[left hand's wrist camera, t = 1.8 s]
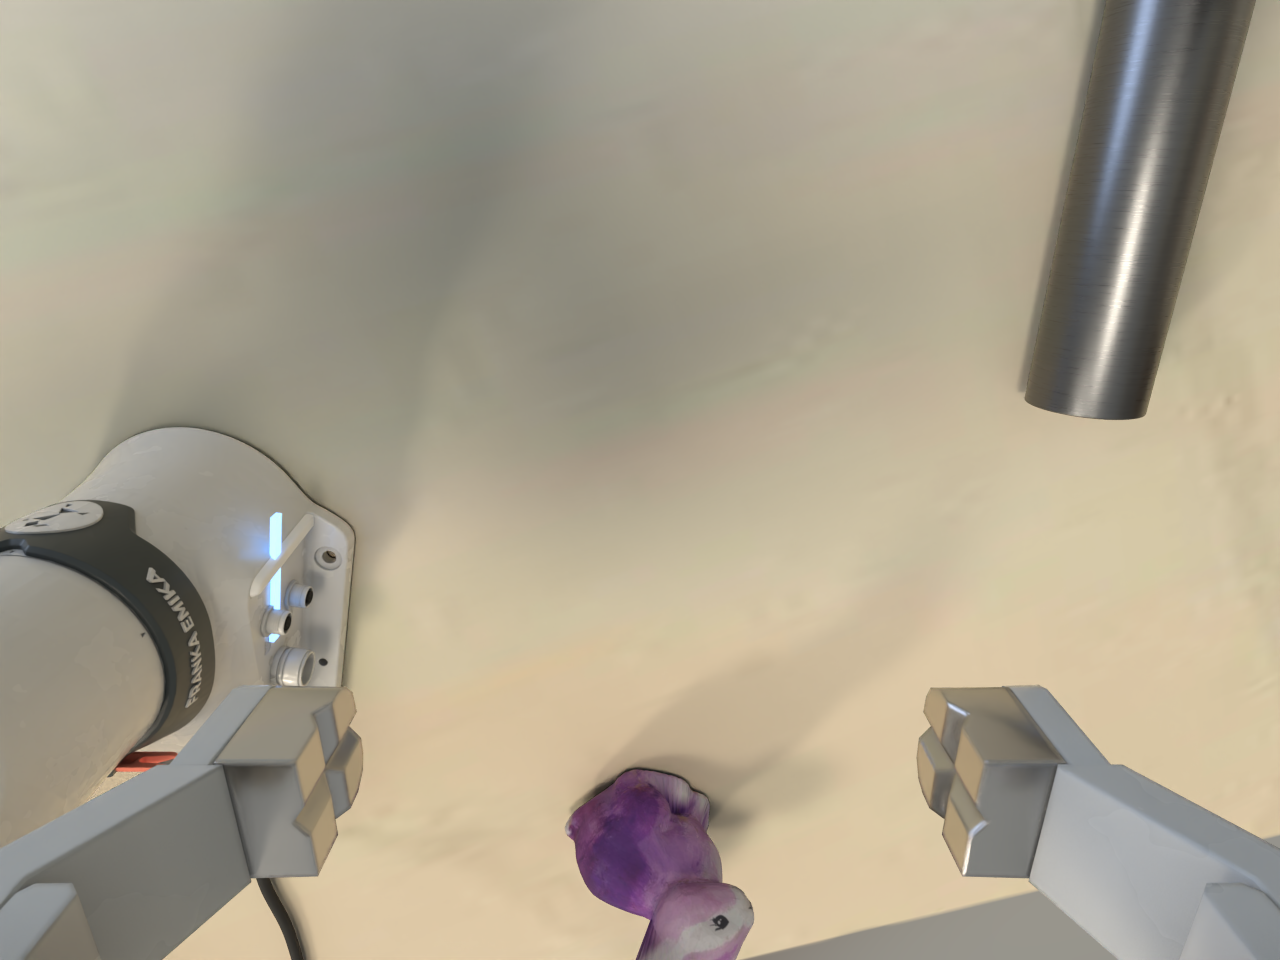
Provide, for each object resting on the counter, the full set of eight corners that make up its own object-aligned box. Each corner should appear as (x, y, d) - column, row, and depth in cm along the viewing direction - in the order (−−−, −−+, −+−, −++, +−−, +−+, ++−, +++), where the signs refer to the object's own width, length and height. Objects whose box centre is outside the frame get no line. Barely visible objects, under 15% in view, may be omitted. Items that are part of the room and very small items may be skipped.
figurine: (744, 806, 55) (785, 1010, 41) (643, 876, 58) (650, 1093, 44) (661, 731, 53) (674, 921, 39) (558, 807, 55) (536, 1014, 41)
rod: (1102, 393, 45) (1171, 420, 39) (1005, 392, 45) (1060, 419, 39) (1236, -156, 36) (1352, -224, 30) (1113, -160, 36) (1206, -230, 30)
